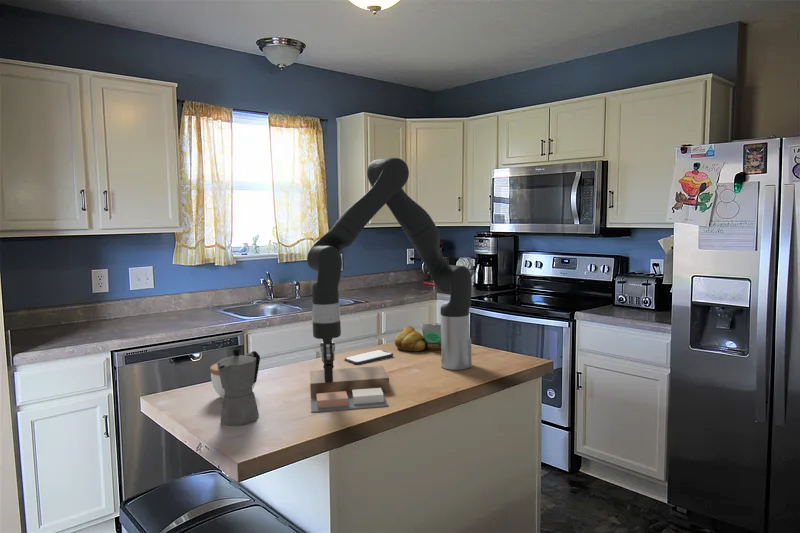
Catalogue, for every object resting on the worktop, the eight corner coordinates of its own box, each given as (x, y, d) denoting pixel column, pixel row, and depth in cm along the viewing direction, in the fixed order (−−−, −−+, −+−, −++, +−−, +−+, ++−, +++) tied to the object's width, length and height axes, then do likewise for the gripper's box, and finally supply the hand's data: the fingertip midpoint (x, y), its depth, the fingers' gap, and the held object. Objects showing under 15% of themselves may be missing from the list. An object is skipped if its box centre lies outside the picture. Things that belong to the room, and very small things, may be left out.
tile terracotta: (348, 398, 144) (348, 405, 144) (346, 391, 150) (346, 398, 150) (317, 400, 142) (317, 408, 143) (316, 393, 148) (316, 400, 148)
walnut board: (383, 378, 169) (382, 365, 168) (389, 391, 156) (389, 377, 155) (310, 383, 165) (310, 370, 165) (310, 397, 152) (310, 383, 152)
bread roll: (431, 350, 202) (431, 329, 202) (410, 355, 197) (409, 333, 196) (410, 344, 213) (410, 324, 212) (390, 348, 207) (389, 327, 207)
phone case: (357, 367, 185) (394, 357, 194) (356, 362, 185) (394, 353, 194) (343, 362, 192) (380, 353, 201) (342, 357, 192) (380, 349, 201)
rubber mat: (382, 392, 155) (382, 391, 155) (388, 406, 144) (388, 405, 144) (310, 398, 152) (310, 397, 152) (311, 412, 140) (311, 411, 140)
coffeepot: (238, 431, 129) (234, 356, 128) (206, 426, 133) (202, 353, 131) (276, 409, 144) (273, 341, 142) (246, 405, 147) (243, 339, 145)
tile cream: (383, 394, 146) (383, 401, 146) (380, 387, 152) (381, 394, 152) (353, 396, 145) (353, 404, 145) (352, 389, 151) (352, 396, 151)
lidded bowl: (256, 401, 150) (254, 362, 149) (208, 405, 148) (205, 365, 147) (260, 387, 162) (258, 351, 161) (215, 391, 160) (213, 354, 159)
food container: (418, 352, 200) (417, 325, 200) (420, 348, 207) (420, 321, 206) (452, 352, 198) (451, 325, 198) (453, 348, 204) (453, 322, 204)
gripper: (341, 323, 143) (344, 388, 144) (338, 314, 156) (341, 374, 157) (312, 324, 141) (315, 390, 143) (312, 315, 154) (314, 376, 156)
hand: (328, 381), depth 150 cm, fingers closed
